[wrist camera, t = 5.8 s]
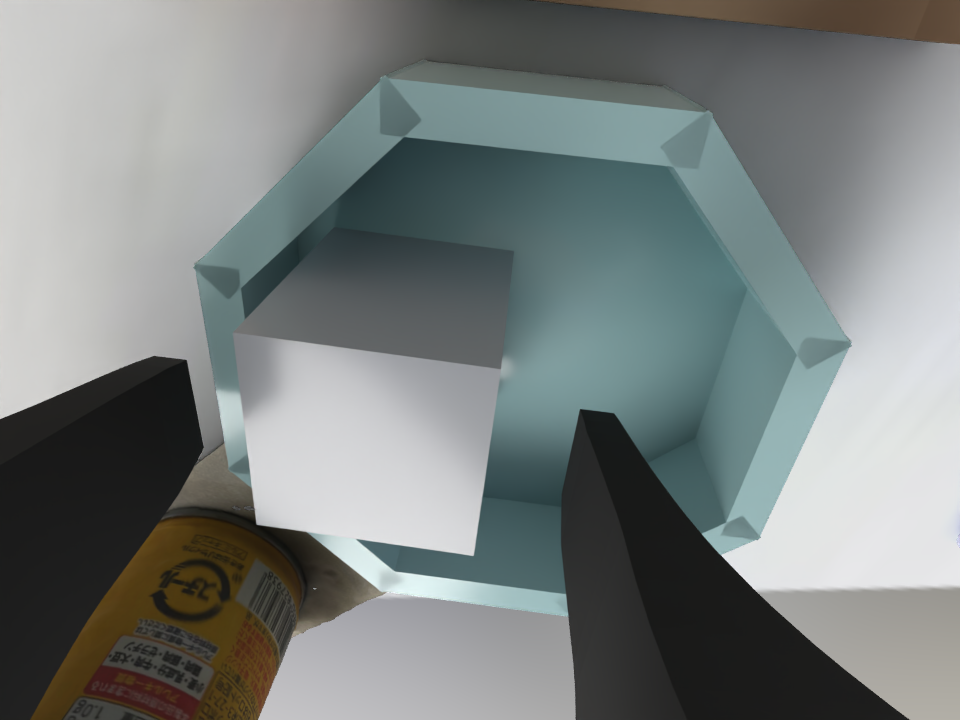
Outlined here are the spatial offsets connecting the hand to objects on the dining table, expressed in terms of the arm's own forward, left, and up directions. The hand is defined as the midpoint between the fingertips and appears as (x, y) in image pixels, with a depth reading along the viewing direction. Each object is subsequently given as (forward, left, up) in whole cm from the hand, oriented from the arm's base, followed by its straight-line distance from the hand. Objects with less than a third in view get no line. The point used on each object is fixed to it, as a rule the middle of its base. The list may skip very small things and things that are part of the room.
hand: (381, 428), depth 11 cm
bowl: (-2, 0, -4) cm, 5 cm away
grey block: (0, 0, -4) cm, 4 cm away
